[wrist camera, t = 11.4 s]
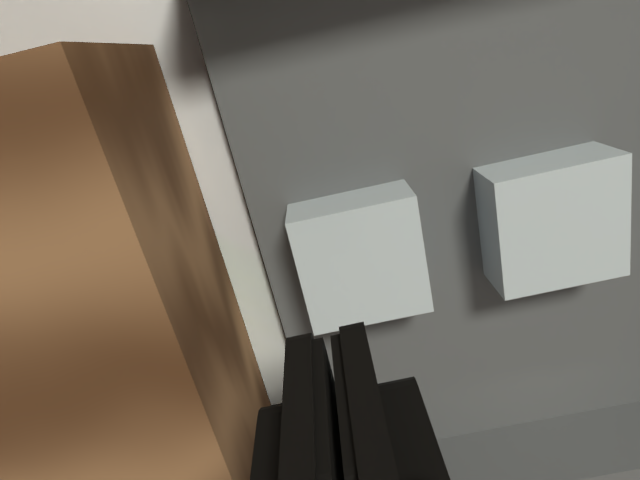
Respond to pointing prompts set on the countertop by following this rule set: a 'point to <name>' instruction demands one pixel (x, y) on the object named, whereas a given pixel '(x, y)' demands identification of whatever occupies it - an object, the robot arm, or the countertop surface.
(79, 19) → the countertop surface
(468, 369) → the tray
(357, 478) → the robot arm
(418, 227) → the tile
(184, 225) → the board
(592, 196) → the tile
